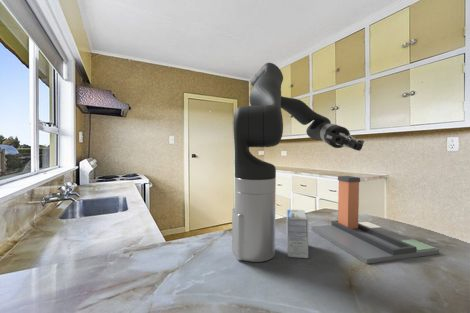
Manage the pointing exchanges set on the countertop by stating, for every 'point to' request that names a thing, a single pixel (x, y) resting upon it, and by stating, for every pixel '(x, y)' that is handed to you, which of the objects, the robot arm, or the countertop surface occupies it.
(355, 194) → the handle
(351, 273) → the countertop surface
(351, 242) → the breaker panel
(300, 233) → the medicine box
